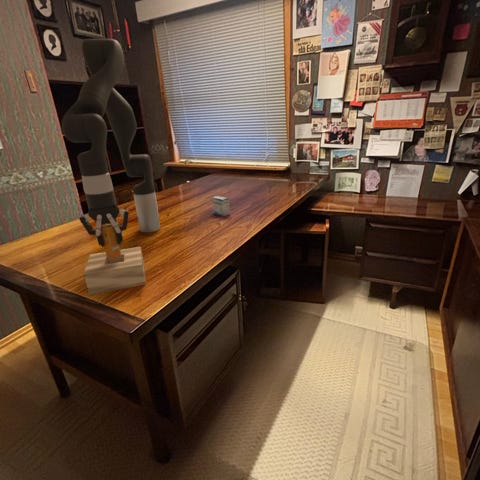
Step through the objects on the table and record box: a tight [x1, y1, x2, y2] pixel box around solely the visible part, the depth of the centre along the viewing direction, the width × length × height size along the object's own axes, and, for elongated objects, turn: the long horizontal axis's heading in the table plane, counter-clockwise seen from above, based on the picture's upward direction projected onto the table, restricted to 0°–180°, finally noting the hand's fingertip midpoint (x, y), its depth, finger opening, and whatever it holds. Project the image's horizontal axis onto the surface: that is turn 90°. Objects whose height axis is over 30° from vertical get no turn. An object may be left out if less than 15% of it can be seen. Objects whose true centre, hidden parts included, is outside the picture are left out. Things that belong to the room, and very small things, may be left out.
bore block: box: [83, 246, 147, 296], centre depth 95 cm, size 14×16×7 cm
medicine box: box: [211, 195, 230, 217], centre depth 153 cm, size 8×4×9 cm, turn 47°
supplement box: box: [101, 224, 121, 258], centre depth 91 cm, size 3×3×10 cm
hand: (111, 244), depth 92 cm, fingers closed on supplement box, 4 cm apart
